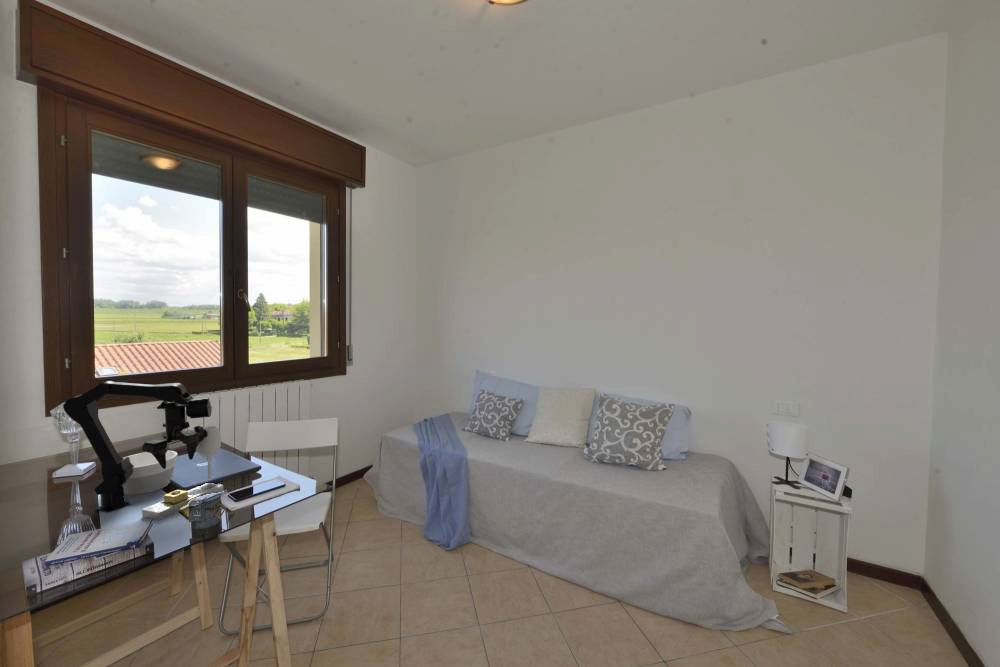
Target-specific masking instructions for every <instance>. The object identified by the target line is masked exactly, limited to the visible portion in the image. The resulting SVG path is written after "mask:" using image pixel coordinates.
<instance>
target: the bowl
mask: <svg viewBox="0 0 1000 667" xmlns="http://www.w3.org/2000/svg"><path fill="white" fill-rule="evenodd" d="M126 457H129V459H130V462H131V464H132V465H133V466H134V467H133V473H132V475H131V476H130V477H129V478H128V479H127V481H126V483H125V484H123V485H122V486H123V488H124V495H127V496H133V495H134V496H135V495H142V494H143V495H144V494H148V492H149V493H153V492H155V491H159V490H162V489H164V488H165V487H168V486H169V485H170V484H171V482H170V480H171V481H172V478H171V477H173V474H174V470H175V465H176V461H177V458H178V452H177V451H174V450H168V451H167V452H166V468H165V469H163V468H162V467H161V465H160V464H159V462H158V461H157V460H156V458H155V457H154V456H153V455H152V454H151V453H148V452H146V451H143V452H139V453H136V454H135V453H134V454H131V455H128V456H125V457H124V456H123V457H122V458H123V459H124V458H126ZM169 483H170V484H169ZM168 484H169V485H168ZM152 491H153V492H152Z"/></svg>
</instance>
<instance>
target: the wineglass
mask: <svg viewBox="0 0 1000 667" xmlns="http://www.w3.org/2000/svg"><path fill="white" fill-rule="evenodd" d="M203 429H205V430H206V431H207V433H208V436H207V437H205V438H204V440H202V441H201V442H200V443H199V444H198V446H197V448H196V451H195V452H197V453H198V455H200V456H202V457H204V458H206V460H207V477H206V478H207V479H210V478H213V477H214V476H213V474H212V458H213V457H214V456H215V455H216V454H218V452H219V450H220V449H221V446H222V437H221V431H220V428H219V426H217V425H207V426H203Z"/></svg>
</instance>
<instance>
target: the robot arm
mask: <svg viewBox="0 0 1000 667" xmlns="http://www.w3.org/2000/svg"><path fill="white" fill-rule="evenodd" d="M108 395H113V396H114V395H117V396H132V397H146V398H153V399H156V400H158V401H161V403H160V404H159V405H158V406H157V407H156V409H157V410H162V409H163V410H164V422H163V423H162V427H164V428H165V435H162V436H163V439H164V440H163V439H162V440H160V439H152V440H149V441H145V442H144V443H143V444H142V448H141V449H142V452H148V453H151V454H152V455H153V456H154V457H155V458H156V460H157V461H158V462H159V464H160V465H161V467H162V468H163V469H165V468H166V452H167V451H169V449H167V447H168V446H169V445H173V444H175V443H180V442H181V443H182V444H184V445H186V450H187V456H188V460H191V461H192V460H193V458H194V456H195V454H196V452H197V451H196V448H197V446H198V444H199V443H200V442H201V441H202V440H204V438H205V437H207V436H208V433H207V431H206V430H205V429H203V427H204V426H203V425H202V424H200V425H196V426H193V427H191V426H190V421H187V418H189V419H192V420H193V419H203V418H210V417H211V416H212V412H213V410H212V409H213V407H212V404H211V401H210V398H209V397H204V398H195V399H194V397H193V396H192V395H191V394H190V393H189V392H188V391H187V388H186V386H185V384H182V383H180V382H173V383H172V382H171V383H158V384H146V383H145V384H144V383H135V382H134V383H133V382H132V383H131V382H120V381H118V382H117V381H112V380H107V381H104V382H101V383H98V384H97V385H96V386H95V387H93V388H91V389H89V390H88V391H86V392H85V393H83V394H82V393H81V394H79V395H76V396H73V397H71V398H68V399H67V400H66V401H64V404H63V406H62V407H63V410H64V412H65V414H66V415H67V416H68V417H69V418H70V420H73V421H74V422H76V423H77V424H78V425H79V426H80V427H81V429H82V431H83V432H84V434H85V436H86V438H87V440H88V442H89V443H90V445H91V447H92V449H93V451H94V453H95V454H96V456H97V458H98V460H99V462H100V467H101V468H100V469H101V470H100V472H101V477H102V482H101V483H99V484H98V485H97V486H96V487H95V488H94V491H95V494H96V495H100V496H99V497H100V506H97V507H95V510H96V511H101V512H105V513H110V512H112V511H114V510H117V509H119V508H123V507H125V506H128V505H130V504H131V502H129V501H126V500H125V494H124V488H123V486H122V485H123V484H125V483H126V481H127V479H128V478H129V477H130V476H131V475H132V473H133V467H134V466H133V465H132V464H131V462H130V459H129V457H127V456H125V457H126V458H124V457H122V456H120V455H119V454H118V452H117V450H116V448H115V446H114V444H113V442H112V441H111V439H110V437H109V435H108V433H107V431H106V429H105V428H104V426H103V424H102V422H101V421H100V420H101V419H100V418H99V406H98V403H97V402H99V401H101V400H102V399H104V398H105V397H106V396H108ZM186 417H187V418H186ZM123 458H124V459H123Z"/></svg>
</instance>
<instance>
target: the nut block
mask: <svg viewBox="0 0 1000 667" xmlns="http://www.w3.org/2000/svg"><path fill="white" fill-rule="evenodd" d="M187 499H188V490H182V489H176V490H173V491H171V492H168V493H166V494H164V495H163V501H164V504H169V505H175V504H178V503H180V502H183V501H185V500H187Z"/></svg>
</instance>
